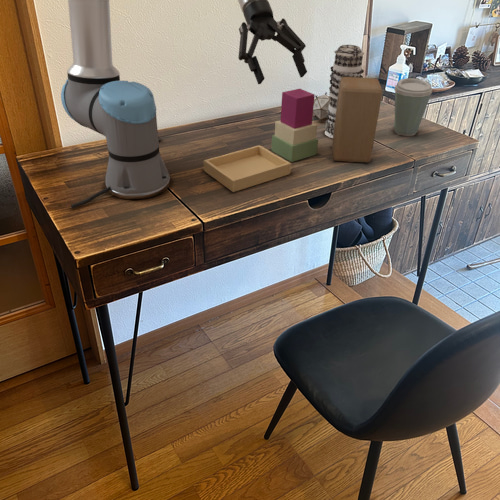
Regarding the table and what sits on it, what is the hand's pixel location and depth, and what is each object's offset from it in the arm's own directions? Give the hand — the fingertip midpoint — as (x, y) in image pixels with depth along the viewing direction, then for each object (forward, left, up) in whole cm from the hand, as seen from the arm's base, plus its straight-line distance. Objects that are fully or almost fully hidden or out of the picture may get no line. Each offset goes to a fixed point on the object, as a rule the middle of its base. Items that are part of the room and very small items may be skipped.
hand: (283, 78), depth 130 cm
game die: (+23, +8, -19) cm, 31 cm away
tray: (-19, -10, -18) cm, 28 cm away
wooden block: (+11, -17, -19) cm, 28 cm away
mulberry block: (-1, -7, -10) cm, 12 cm away
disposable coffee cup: (+37, -14, -19) cm, 44 cm away
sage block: (-1, -7, -18) cm, 20 cm away
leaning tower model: (+19, -4, -19) cm, 27 cm away
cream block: (-1, -7, -14) cm, 16 cm away
